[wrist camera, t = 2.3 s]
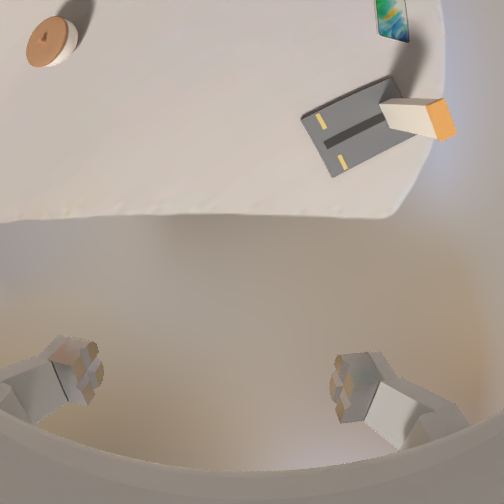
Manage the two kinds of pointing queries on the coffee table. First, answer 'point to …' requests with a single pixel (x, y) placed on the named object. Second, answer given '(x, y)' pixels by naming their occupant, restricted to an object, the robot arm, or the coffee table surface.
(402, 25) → the smartphone
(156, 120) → the coffee table surface
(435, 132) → the fader tab
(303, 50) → the coffee table surface
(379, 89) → the board
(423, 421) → the robot arm
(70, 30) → the lidded jar
